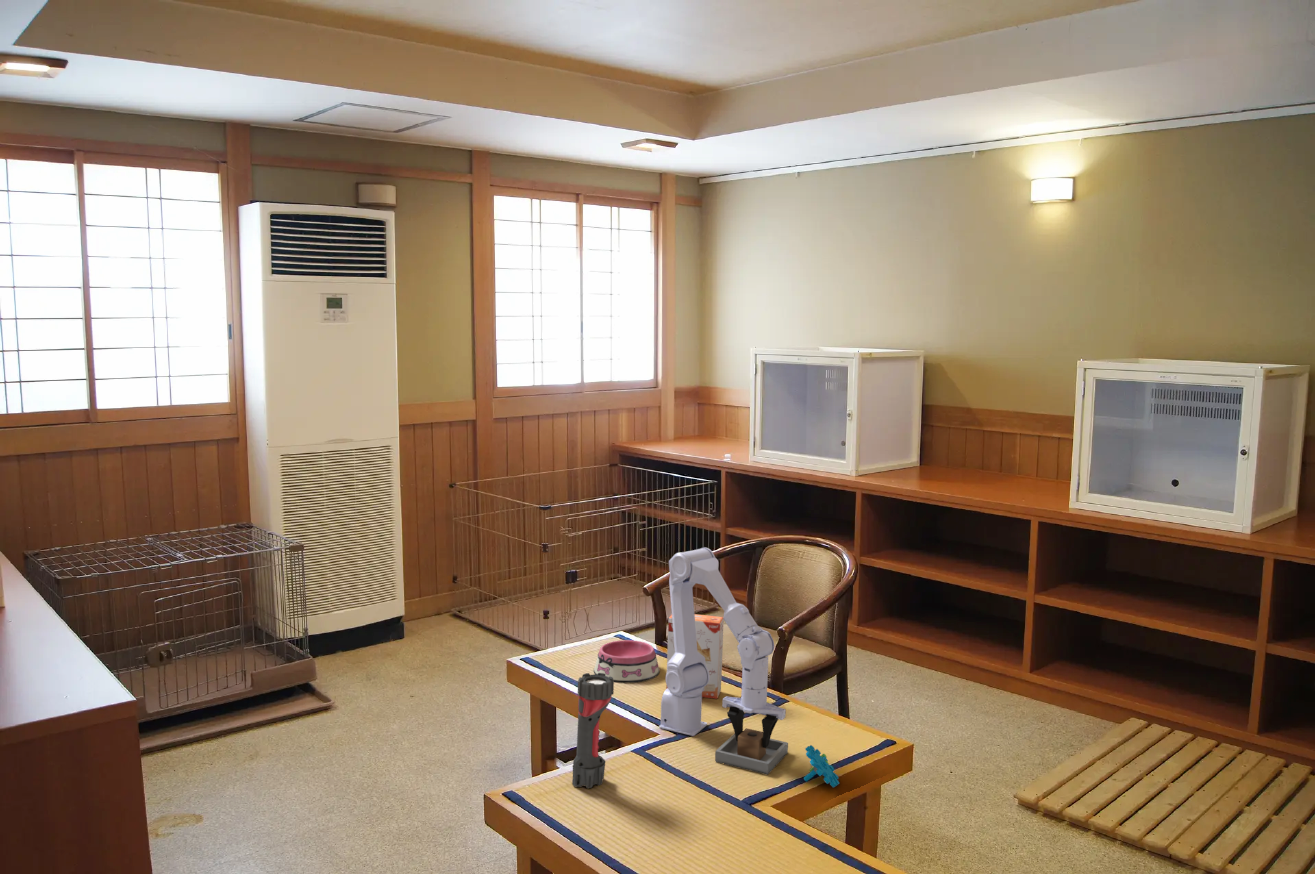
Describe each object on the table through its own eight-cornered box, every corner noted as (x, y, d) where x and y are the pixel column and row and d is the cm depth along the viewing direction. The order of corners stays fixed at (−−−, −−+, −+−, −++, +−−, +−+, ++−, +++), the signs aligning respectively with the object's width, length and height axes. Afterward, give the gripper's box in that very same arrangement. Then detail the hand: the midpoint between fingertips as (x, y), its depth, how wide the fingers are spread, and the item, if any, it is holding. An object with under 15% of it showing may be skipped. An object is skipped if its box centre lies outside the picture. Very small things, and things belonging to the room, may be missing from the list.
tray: (715, 761, 216) (715, 751, 216) (737, 740, 227) (737, 730, 227) (767, 774, 210) (768, 764, 210) (787, 752, 222) (788, 742, 221)
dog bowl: (580, 669, 272) (580, 646, 271) (630, 655, 285) (630, 633, 284) (622, 689, 259) (623, 664, 258) (672, 673, 271) (673, 649, 270)
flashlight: (615, 775, 209) (617, 673, 206) (605, 792, 201) (607, 686, 198) (581, 770, 210) (582, 669, 208) (570, 787, 203) (571, 682, 200)
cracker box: (665, 694, 255) (667, 617, 253) (670, 686, 261) (672, 610, 259) (717, 700, 252) (720, 622, 250) (721, 691, 258) (724, 615, 255)
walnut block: (737, 757, 218) (737, 736, 217) (745, 748, 222) (746, 727, 221) (757, 762, 215) (758, 740, 215) (765, 753, 220) (766, 732, 219)
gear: (839, 789, 201) (807, 750, 203) (817, 806, 202) (786, 767, 205) (844, 773, 212) (813, 736, 214) (823, 789, 213) (793, 752, 215)
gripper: (717, 684, 217) (715, 742, 218) (778, 697, 210) (776, 756, 212) (730, 674, 223) (728, 731, 225) (789, 687, 216) (787, 744, 218)
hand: (752, 742), depth 219 cm, fingers open, 6 cm apart
